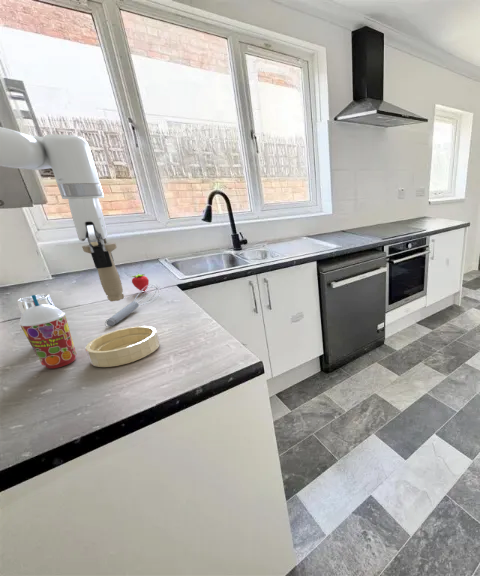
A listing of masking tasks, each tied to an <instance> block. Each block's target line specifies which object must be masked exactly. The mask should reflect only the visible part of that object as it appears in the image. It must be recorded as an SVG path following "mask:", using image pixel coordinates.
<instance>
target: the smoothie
mask: <svg viewBox="0 0 480 576" xmlns="http://www.w3.org/2000/svg"><path fill="white" fill-rule="evenodd" d="M35 295H36V294H31V296H32V298H33V301H34V303H35V306H32V307H30V308H28V309H27V310H26V311H24V313H23V314H21V316H20V319H19V322H18V325H19V326H20V328H21V329H22V332H23V333H24V335H25V337H26V339H27V341H28V342H29V344H30V346H31V347H32V350H33V351H34V353H35V355H36V356H37V359H38V360H39V362H40V364H41V366H44V367H46V369H59V368H62V367H66V366H67V365H70V364H72V363H73V362H74V361H75V360H76V356H77V351H76V348H75V344H74V341H73V340H74V339H73V337H72V333H71V330H70V327H69V324H68V320H67V317H66V312H65V311H62V310H61V309H60V308H58V307H57V306H56V305H54V306H52V305H47V304H39V303H38V301H37V298H36V296H35Z"/></svg>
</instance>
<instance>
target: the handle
mask: <svg viewBox="0 0 480 576" xmlns="http://www.w3.org/2000/svg"><path fill="white" fill-rule="evenodd" d="M104 244H105V247H106V251H108V252H109V256H110V259H111V262H112V267H106V268H98V269H97V273H98V278H99V281H100V284H101V287H102V289H103V291H104V293H105V295H106V298H107V299H108V301H110V302H118V301H121V300H123V299H124V298H125V294H124V293H123V292H124V289H123V283H122V279H121V277H120V275H119V272H118V269H117V267H116V264H115V262H114V261H113V260H114V258H113V259H112V257H113V255H112V256H111V253H112V252H114V251H115V250H116V249H117V244H116V242H107V243H104ZM81 248H82V250H83V252H84V253H87V254H90V255H91V250H90V246H89V244H86V245H82V246H81Z"/></svg>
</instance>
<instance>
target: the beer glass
mask: <svg viewBox="0 0 480 576" xmlns="http://www.w3.org/2000/svg"><path fill="white" fill-rule="evenodd" d="M34 295H35V296H36V298H37V301H38V303H39V304H47V305H52V306H55V304H54V302H53V300H52V298H51V296H50V294H48V293H39V294H34ZM16 303H17V305H18V308H19V311H20V314H21V315H22V314H23V313H24V311H26V310H27V309H28V308H30V307H32V306H35V303H34V301H33V298H32V295H28V296H24V297H21V298H18V299H16Z"/></svg>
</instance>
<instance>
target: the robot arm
mask: <svg viewBox="0 0 480 576" xmlns="http://www.w3.org/2000/svg"><path fill="white" fill-rule="evenodd" d="M0 167H4V168H10V169H21V170H27V171H28V170H29V171H33V170H34V171H37V170H47V169H48V170H49V169H51V170H52V173H53V176H54V179H55V182H56V185H57V188H58V190H59V193H60V196H61V199H62V200H67V201H68V206H69V209H70V213H71V217H72V218H71V219H72V221H73V224H74V227H75V231H76V234H77V237H78V241H80V242H85V241H86V240H87V243H88V245H89V246H90V250H91V254H90V255H91V258H92V261H93V264H94V267H95V269H97V270H98V268H106V267H112V262H111V259H110V256H109V252H108V251H106V247H105V244H104V243H108V241H107V238H108V235H109V234H108V229H107V224H106V219H105V216H104V213H103V209H102V206H101V202H100V199H103V198H105V195H104V192H103V189H102V185H101V182H100V178H99V175H98V172H97V168H96V165H95V162H94V158H93V154H92V151H91V149H90V146H89V143H88V141H87V140H86V139H85V138H83V137H82V136H78V135H72V134H62V133H61V134H59V133H57V134H55V133H53V134H45V135H44V136H40V135H39V136H37V135H32V134H27V133H24V132H21V131H18V130H14V129H11V128H8V127H3V126H0ZM111 256H112V259H113V261H114V260H115V259H114V257H113V253H112V252H111Z"/></svg>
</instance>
